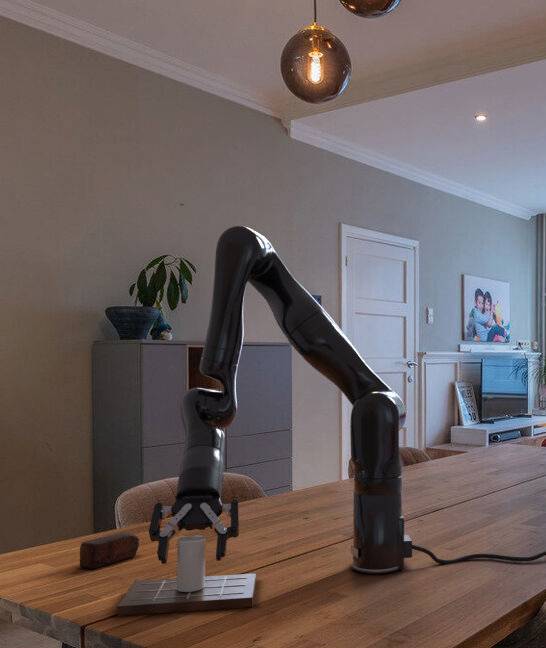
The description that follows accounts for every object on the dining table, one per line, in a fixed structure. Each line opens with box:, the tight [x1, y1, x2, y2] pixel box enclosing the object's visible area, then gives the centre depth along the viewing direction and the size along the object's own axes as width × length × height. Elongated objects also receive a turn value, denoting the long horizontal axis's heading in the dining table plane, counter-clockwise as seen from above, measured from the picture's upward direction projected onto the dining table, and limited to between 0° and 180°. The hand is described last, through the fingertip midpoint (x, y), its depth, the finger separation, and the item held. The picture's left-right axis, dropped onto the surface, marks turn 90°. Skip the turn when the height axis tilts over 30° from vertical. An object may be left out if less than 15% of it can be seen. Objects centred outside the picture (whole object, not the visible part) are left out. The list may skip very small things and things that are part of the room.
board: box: [116, 573, 257, 617], centre depth 119 cm, size 20×13×2 cm, turn 102°
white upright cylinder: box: [176, 535, 207, 592], centre depth 120 cm, size 4×4×8 cm
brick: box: [79, 532, 140, 570], centre depth 140 cm, size 11×4×5 cm, turn 157°
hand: (191, 559), depth 118 cm, fingers open, 8 cm apart
